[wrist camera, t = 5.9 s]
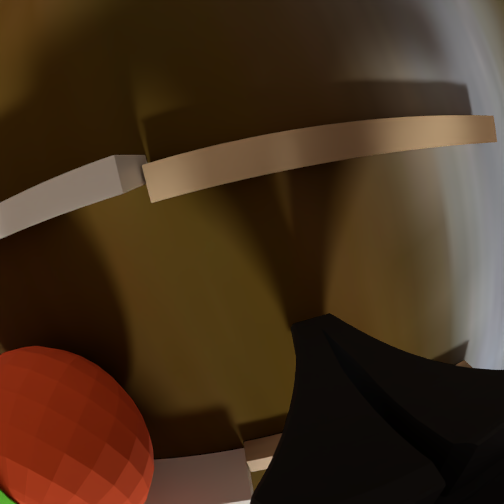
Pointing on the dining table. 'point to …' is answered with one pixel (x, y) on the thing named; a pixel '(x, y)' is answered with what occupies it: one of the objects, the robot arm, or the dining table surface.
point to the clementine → (69, 432)
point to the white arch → (88, 192)
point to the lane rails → (301, 155)
